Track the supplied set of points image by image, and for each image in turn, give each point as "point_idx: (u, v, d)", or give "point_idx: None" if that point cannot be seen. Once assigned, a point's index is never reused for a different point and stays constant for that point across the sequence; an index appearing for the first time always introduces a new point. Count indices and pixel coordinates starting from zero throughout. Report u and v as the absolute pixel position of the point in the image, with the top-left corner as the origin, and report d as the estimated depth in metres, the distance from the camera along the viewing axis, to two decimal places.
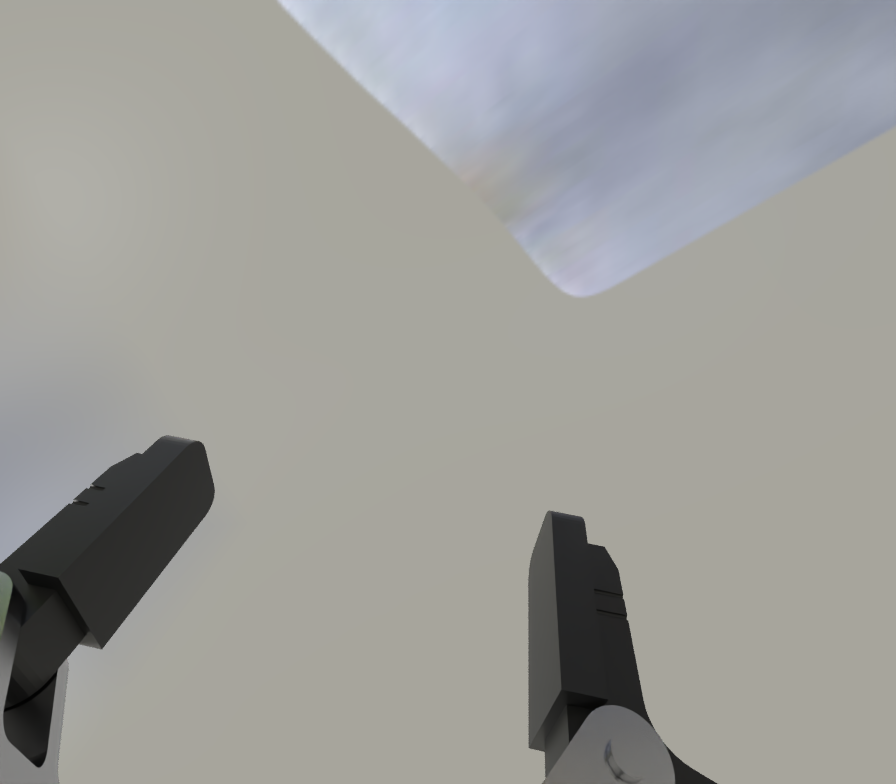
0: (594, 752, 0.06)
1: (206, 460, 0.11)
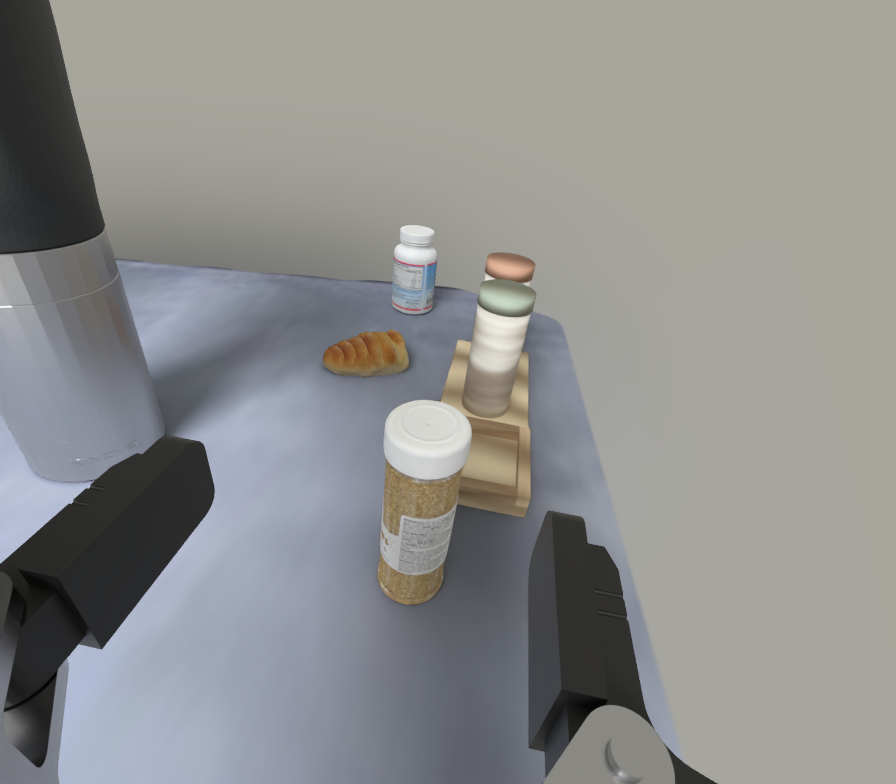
0: (594, 752, 0.06)
1: (206, 460, 0.11)
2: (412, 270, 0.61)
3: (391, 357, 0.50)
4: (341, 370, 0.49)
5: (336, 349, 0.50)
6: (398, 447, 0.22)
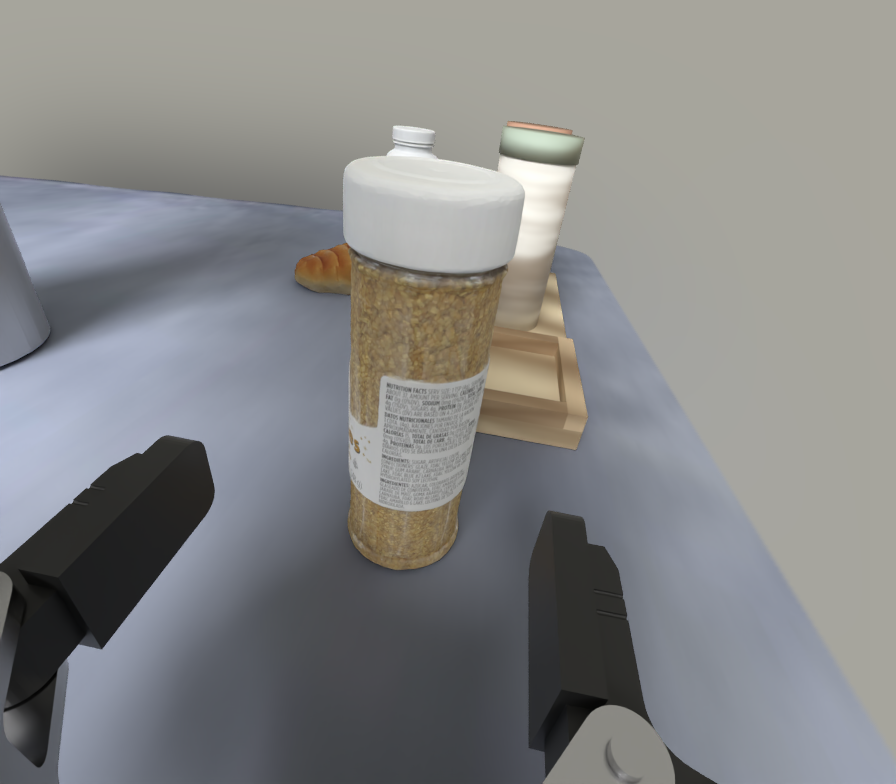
0: (594, 752, 0.06)
1: (206, 460, 0.11)
2: None
3: None
4: (319, 283, 0.37)
5: (312, 258, 0.37)
6: (368, 189, 0.10)
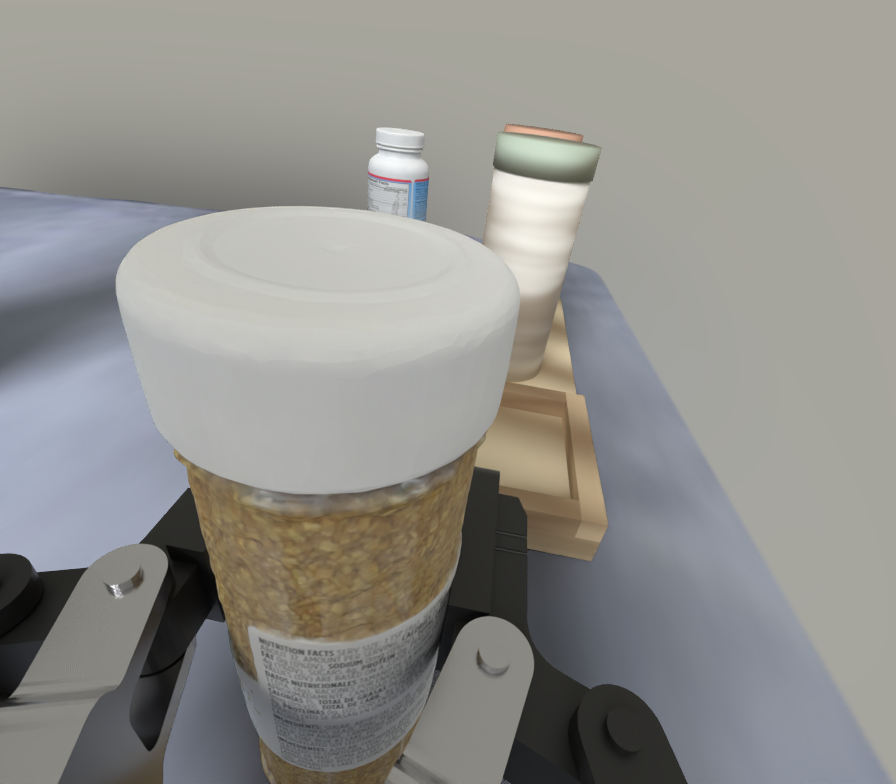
0: (467, 661, 0.07)
1: None
2: (393, 188, 0.43)
3: None
4: None
5: None
6: (135, 322, 0.04)
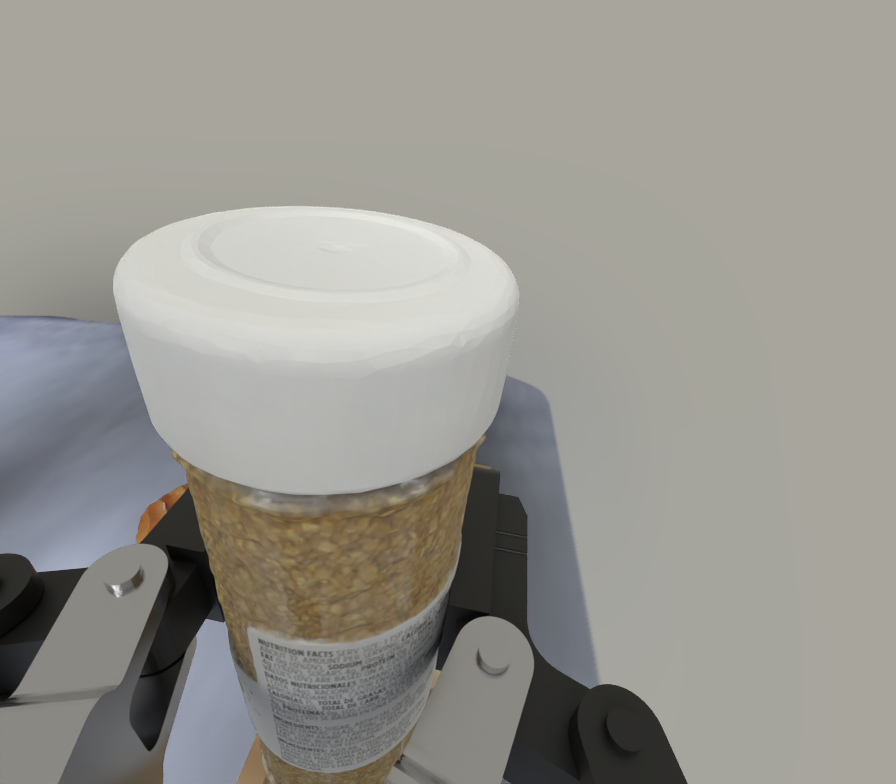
0: (467, 661, 0.07)
1: None
2: None
3: None
4: None
5: (159, 513, 0.27)
6: (133, 321, 0.04)
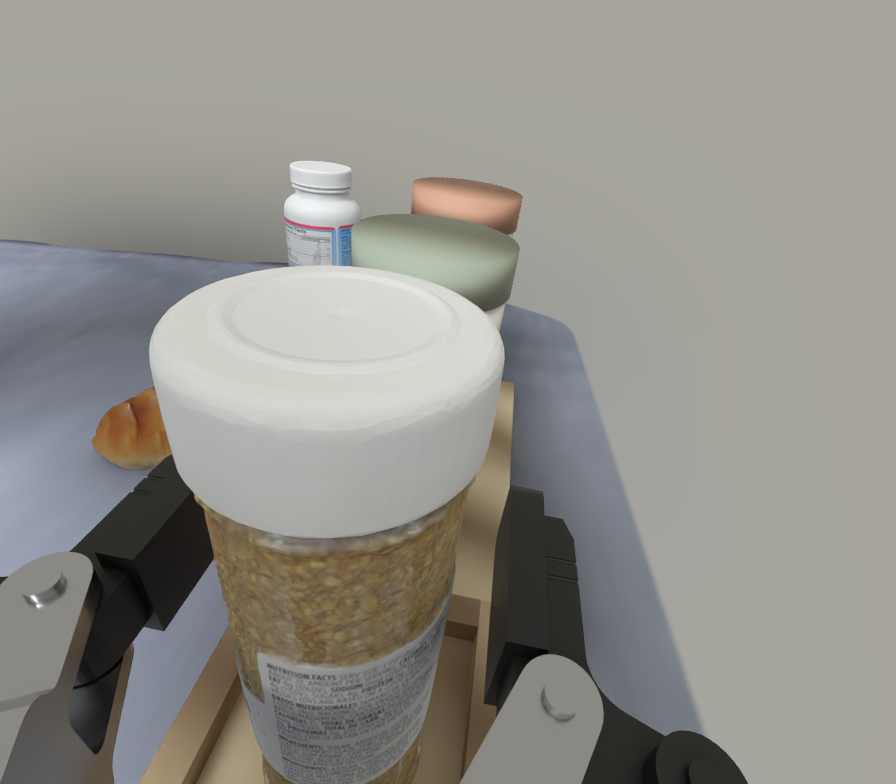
0: (530, 699, 0.06)
1: None
2: (312, 237, 0.35)
3: None
4: (133, 462, 0.21)
5: (122, 413, 0.22)
6: (168, 392, 0.05)
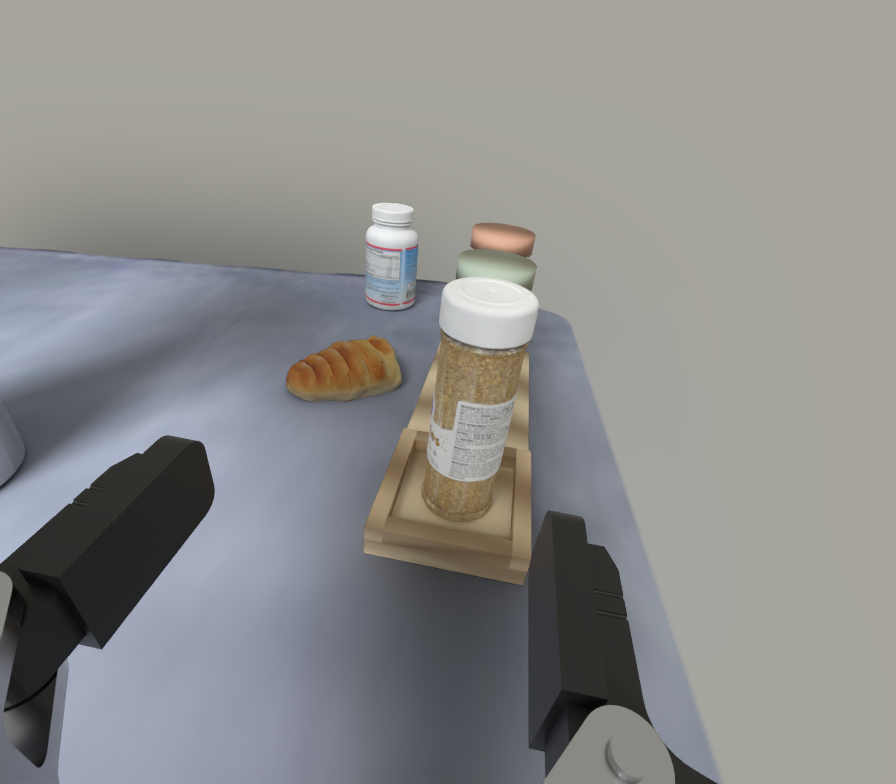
0: (594, 752, 0.06)
1: (206, 460, 0.11)
2: (387, 256, 0.50)
3: (380, 372, 0.37)
4: (314, 395, 0.36)
5: (304, 367, 0.37)
6: (460, 309, 0.20)
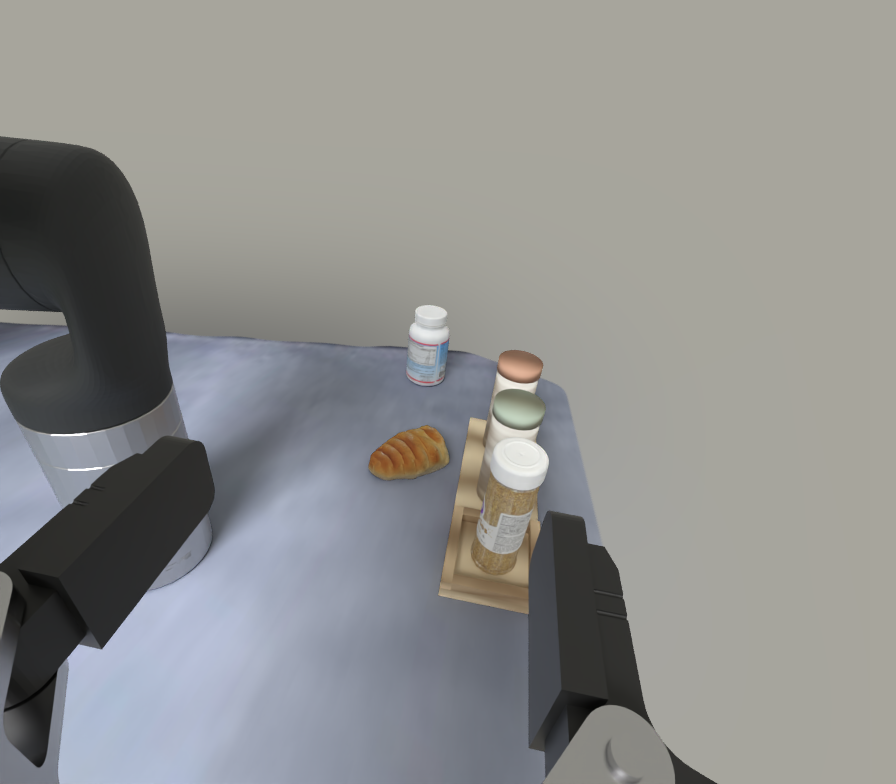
0: (594, 752, 0.06)
1: (206, 460, 0.11)
2: (426, 349, 0.65)
3: (436, 458, 0.53)
4: (391, 477, 0.51)
5: (382, 456, 0.52)
6: (505, 470, 0.35)
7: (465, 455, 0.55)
